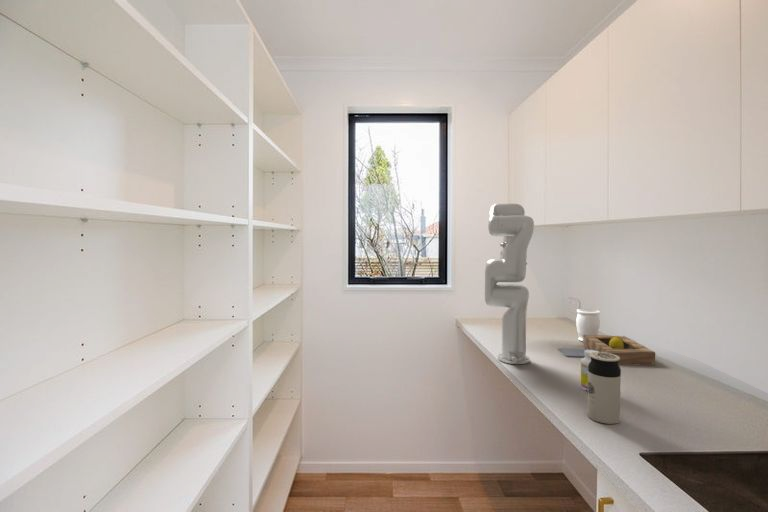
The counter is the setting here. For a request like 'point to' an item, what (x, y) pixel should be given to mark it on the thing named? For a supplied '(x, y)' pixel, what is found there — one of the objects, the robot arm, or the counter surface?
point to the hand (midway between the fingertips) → (510, 279)
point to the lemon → (616, 343)
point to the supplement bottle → (585, 368)
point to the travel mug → (604, 388)
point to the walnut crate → (628, 355)
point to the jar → (587, 322)
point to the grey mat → (572, 352)
